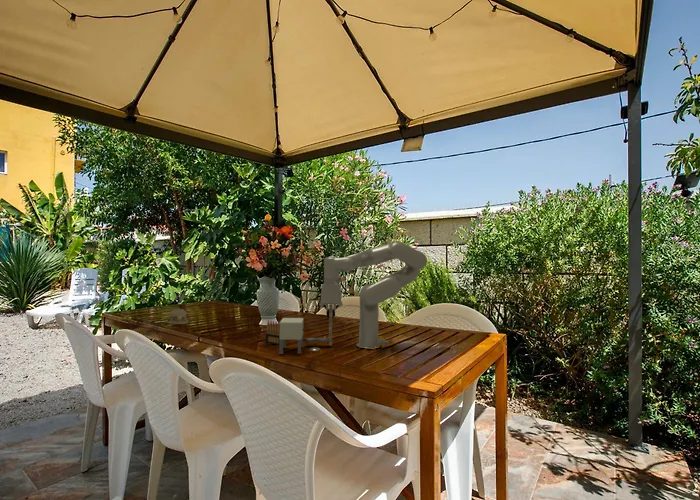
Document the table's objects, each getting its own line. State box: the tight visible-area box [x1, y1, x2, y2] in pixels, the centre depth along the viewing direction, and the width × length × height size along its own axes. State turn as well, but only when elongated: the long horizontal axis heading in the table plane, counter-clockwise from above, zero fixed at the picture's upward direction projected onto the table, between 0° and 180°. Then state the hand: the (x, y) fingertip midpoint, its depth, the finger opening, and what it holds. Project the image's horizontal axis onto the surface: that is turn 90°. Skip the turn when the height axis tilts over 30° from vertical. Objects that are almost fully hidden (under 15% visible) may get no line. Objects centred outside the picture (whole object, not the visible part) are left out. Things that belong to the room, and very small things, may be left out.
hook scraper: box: [305, 304, 333, 347], centre depth 190 cm, size 13×5×20 cm, turn 93°
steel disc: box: [309, 347, 321, 351], centre depth 181 cm, size 5×5×2 cm
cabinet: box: [278, 317, 305, 355], centre depth 181 cm, size 11×13×15 cm
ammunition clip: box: [265, 320, 280, 346], centre depth 194 cm, size 11×2×12 cm, turn 59°
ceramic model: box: [165, 307, 190, 325], centre depth 250 cm, size 14×11×10 cm
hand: (330, 317), depth 191 cm, fingers closed on hook scraper, 1 cm apart
